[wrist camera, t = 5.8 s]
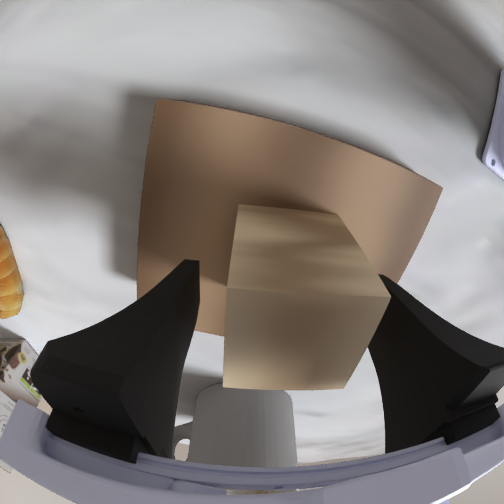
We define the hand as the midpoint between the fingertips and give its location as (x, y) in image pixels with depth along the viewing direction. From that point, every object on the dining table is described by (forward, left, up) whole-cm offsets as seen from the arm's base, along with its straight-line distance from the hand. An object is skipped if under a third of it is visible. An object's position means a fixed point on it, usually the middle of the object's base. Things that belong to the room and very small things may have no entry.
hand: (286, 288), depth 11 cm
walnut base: (0, 0, -5) cm, 5 cm away
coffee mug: (-1, +20, -6) cm, 21 cm away
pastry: (+24, +9, -6) cm, 26 cm away
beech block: (0, 0, -2) cm, 2 cm away
